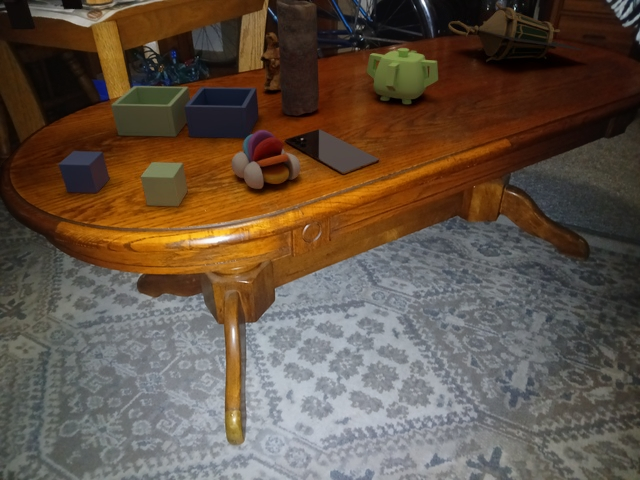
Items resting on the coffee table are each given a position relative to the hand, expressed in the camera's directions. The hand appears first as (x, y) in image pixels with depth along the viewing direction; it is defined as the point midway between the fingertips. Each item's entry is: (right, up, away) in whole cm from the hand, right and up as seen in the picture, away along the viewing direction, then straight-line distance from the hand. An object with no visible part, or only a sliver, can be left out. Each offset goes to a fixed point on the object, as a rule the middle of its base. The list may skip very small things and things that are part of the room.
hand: (50, 18), depth 72 cm
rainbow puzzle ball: (+30, -22, +6) cm, 38 cm away
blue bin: (+20, -10, +23) cm, 32 cm away
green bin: (+7, -10, +24) cm, 27 cm away
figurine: (+28, +1, +40) cm, 49 cm away
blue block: (+4, -23, +4) cm, 24 cm away
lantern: (+85, +14, +58) cm, 104 cm away
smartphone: (+40, -17, +13) cm, 45 cm away
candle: (+34, -6, +29) cm, 45 cm away
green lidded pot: (+55, -1, +35) cm, 65 cm away
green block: (+16, -25, +1) cm, 30 cm away
